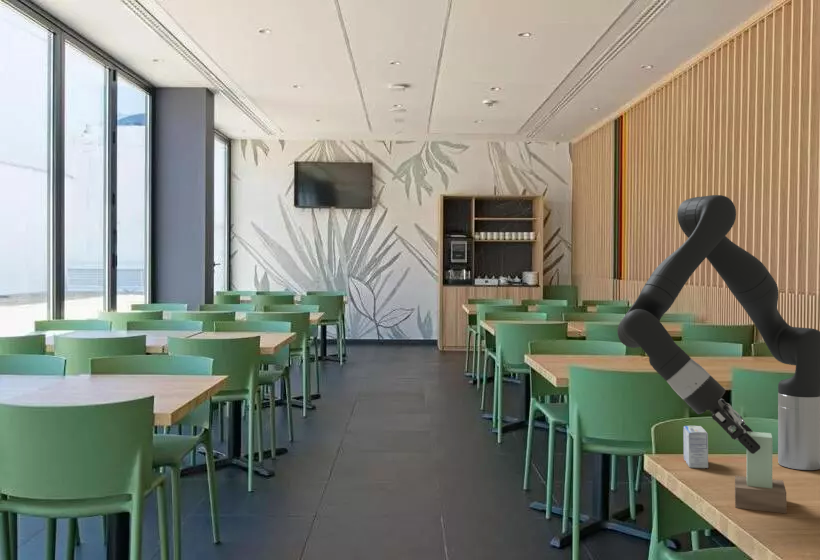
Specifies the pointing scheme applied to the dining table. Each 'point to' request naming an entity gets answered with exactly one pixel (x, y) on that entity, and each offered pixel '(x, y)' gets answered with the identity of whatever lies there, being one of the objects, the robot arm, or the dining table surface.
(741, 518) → the dining table surface
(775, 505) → the walnut plinth
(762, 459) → the sage block
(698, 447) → the medicine box
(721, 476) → the dining table surface
